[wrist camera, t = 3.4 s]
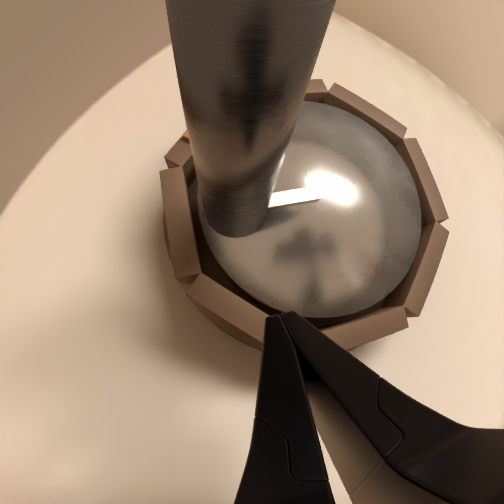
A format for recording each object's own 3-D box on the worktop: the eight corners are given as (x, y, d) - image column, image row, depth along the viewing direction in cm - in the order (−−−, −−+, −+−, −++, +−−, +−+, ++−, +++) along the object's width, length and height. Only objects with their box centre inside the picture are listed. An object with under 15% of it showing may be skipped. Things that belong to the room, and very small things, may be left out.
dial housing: (444, 310, 18) (480, 305, 14) (198, 385, 16) (190, 402, 12) (370, 103, 21) (388, 73, 18) (154, 128, 19) (142, 93, 16)
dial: (427, 285, 17) (626, 220, 3) (226, 343, 15) (206, 478, 2) (364, 114, 19) (454, -39, 6) (186, 134, 18) (151, -81, 4)
